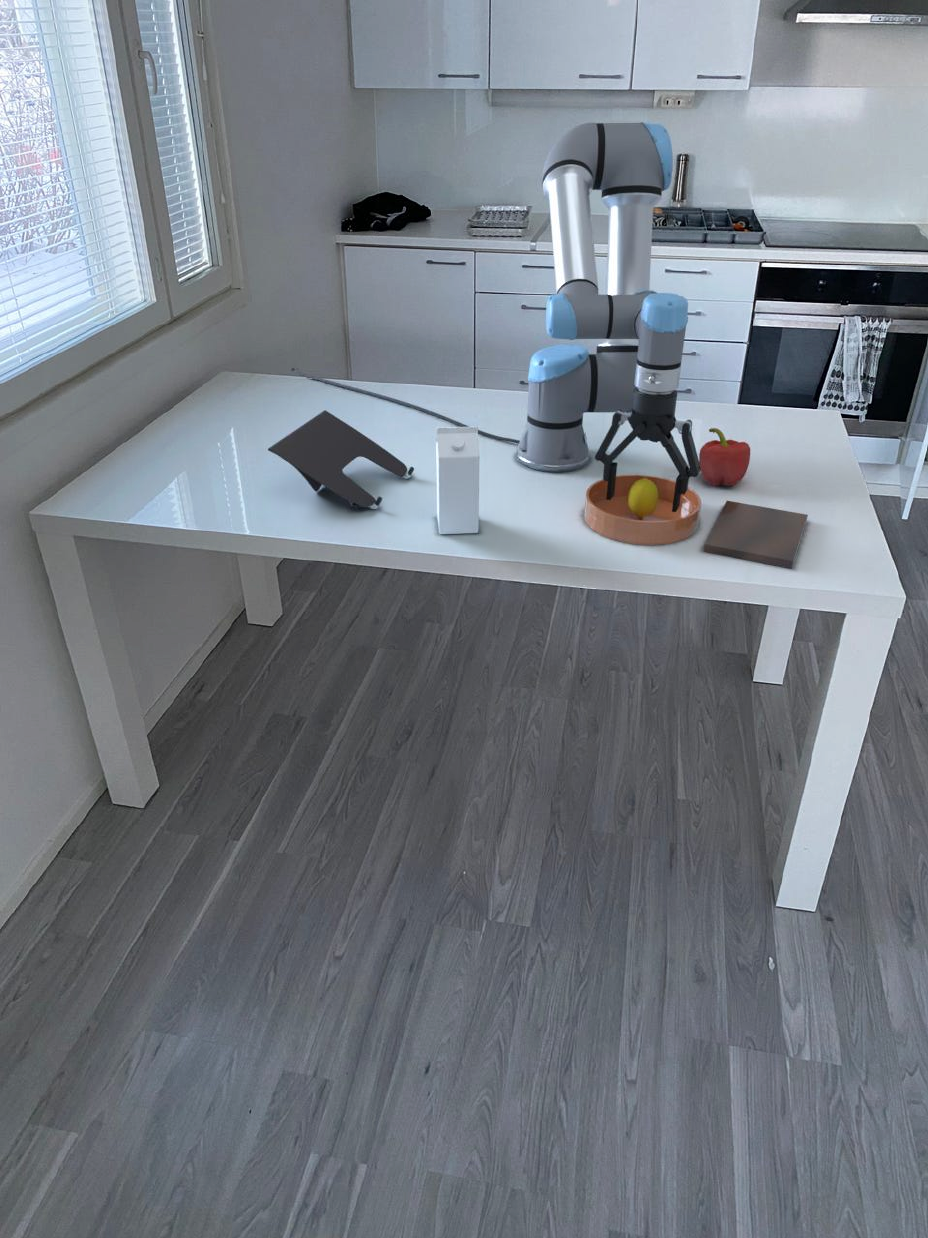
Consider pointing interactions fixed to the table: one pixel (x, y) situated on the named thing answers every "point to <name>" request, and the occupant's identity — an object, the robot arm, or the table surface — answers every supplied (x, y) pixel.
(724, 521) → the board
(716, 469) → the vegetable
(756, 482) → the table surface
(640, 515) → the lemon
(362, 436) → the laptop tray
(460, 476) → the milk carton
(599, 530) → the basin
